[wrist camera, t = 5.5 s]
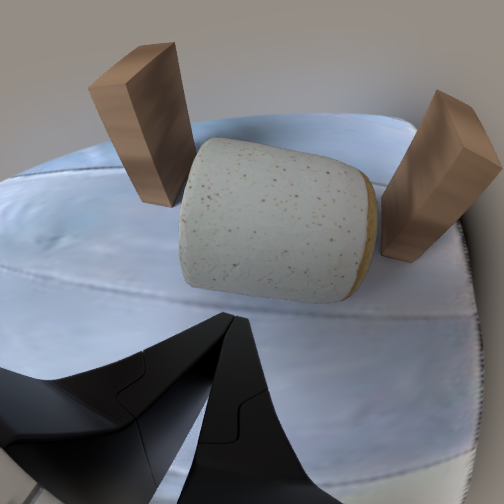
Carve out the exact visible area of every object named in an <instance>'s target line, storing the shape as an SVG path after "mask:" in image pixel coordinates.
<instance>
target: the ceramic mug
mask: <svg viewBox="0 0 504 504" xmlns="http://www.w3.org/2000/svg"><path fill="white" fill-rule="evenodd" d="M377 226H378V210H377V201H376V196H375V192H374V189H373V186H372V184H371V183H370V181H369V179H368V177H367V176H366V175H365V174H364V173H363V172H361V171H360V170H358V169H356V168H354V167H352V166H350V165H347V164H345V163H343V162H340V161H337V160H334V159H331V158H328V157H324V156H319V155H314V154H309V153H303V152H297V151H293V150H288V149H283V148H279V147H274V146H269V145H264V144H258V143H253V142H247V141H241V140H235V139H229V138H219V137H213V138H210V139H208V140H207V141H206V142H205V143H204V144H203V145H202V146H201V148H200V150H199V152H198V154H197V155H196V157H195V159H194V161H193V164H192V167H191V170H190V174H189V177H188V181H187V184H186V187H185V191H184V195H183V200H182V204H181V210H180V219H179V258H180V263H181V269H182V272H183V275H184V279H185V281H186V282H187V283H188V284H189V285H190V286H191V287H195V288H201V289H207V290H214V291H221V292H228V293H235V294H241V295H248V296H255V297H266V298H276V299H283V300H290V301H296V302H303V303H314V304H318V303H334V302H339V301H343V300H345V299H346V298H348V297H349V296H351V295H352V294H353V293H354V292H355V291H356V290H357V288H358V287H359V286H360V284H361V283H362V281H363V280H364V277H365V275H366V273H367V271H368V268H369V266H370V263H371V260H372V257H373V252H374V247H375V243H376V236H377Z"/></svg>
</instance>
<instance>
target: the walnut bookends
mask: <svg viewBox="0 0 504 504" xmlns="http://www.w3.org/2000/svg"><path fill="white" fill-rule="evenodd" d="M88 90H89V92H90V95H91V97H92V99H93V101H94V104H95V106H96V108H97V111H98V113H99V115H100V117H101V120H102V122H103V124H104V126H105V129H106V131H107V133H108V135H109V137H110V139H111V141H112V143H113V146H114V148H115V150H116V152H117V154H118V156H119V158H120V160H121V162H122V164H123V166H124V168H125V170H126V172H127V174H128V176H129V178H130V180H131V182H132V183H133V185H134V187H135V189H136V191H137V193H138V195H139V197H140V199H141V200H142V202H146V203H151V204H156V205H161V206H166V207H172V206H173V204H174V202H175V200H176V198H177V196H178V194H179V192H180V190H181V188H182V186H183V184H184V182H185V180H186V178H187V176H188V174H189V172H190V170H191V167H192V164H193V161H194V159H195V157H196V155H197V153H196V148H195V144H194V139H193V134H192V129H191V125H190V120H189V115H188V110H187V105H186V100H185V95H184V90H183V85H182V80H181V74H180V69H179V63H178V57H177V52H176V46H175V42H172V43H160V44H152V45H143V46H139V47H137V48H136V49H135V50H133V51H132V52H130V53H129V54H128V55H127V56H125V57H124V58H123V59H121V60H120V61H119V62H118V63H116V64H115V65H114V66H113V67H111V68H110V69H109V70H108V71H107V72H106V73H104V74H103V75H102V76H101V77H100V78H99V79H97V80H96V81H95V82H94V83H93V84H92V85H91V86H90V87H89V88H88ZM501 170H502V166H501V164H500V161H499V159H498V157H497V154H496V152H495V150H494V148H493V146H492V144H491V142H490V140H489V138H488V136H487V134H486V132H485V130H484V128H483V126H482V124H481V122H480V121H479V119H478V117H477V115H476V113H475V112H474V110H473V109H472V107H470V106H469V105H467V104H465V103H463V102H461V101H459V100H458V99H455V98H454V97H452V96H449V95H447V94H446V93H443V92H441V91H439V90H436V92H435V94H434V97H433V99H432V101H431V103H430V105H429V108H428V110H427V112H426V114H425V116H424V118H423V120H422V122H421V125H420V126H419V128H418V130H417V132H416V134H415V136H414V138H413V140H412V142H411V144H410V146H409V148H408V150H407V152H406V154H405V156H404V157H403V159H402V161H401V163H400V165H399V167H398V168H397V170H396V172H395V174H394V176H393V177H392V179H391V181H390V183H389V185H388V186H387V188H386V190H385V191H384V193H383V195H382V197H381V200H382V237H381V255H383V256H387V257H391V258H395V259H398V260H402V261H406V262H410V263H413V262H414V261H415V260H416V259H417V258H418V257H419V256H420V255H422V254H423V253H424V252H425V251H426V250H427V249H428V248H429V247H430V246H431V245H432V244H433V243H434V242H435V241H437V240H438V239H439V238H440V237H441V236H442V235H443V234H444V233H445V232H446V231H447V230H448V229H449V228H450V227H451V226H452V225H453V224H454V223H455V222H456V221H457V220H458V219H459V218H460V216H461V215H462V214H463V213H464V212H465V211H466V210H467V209H468V208H469V207H470V206H471V205H472V204H473V203H474V201H475V200H476V199H477V198H478V197H479V196H480V195H481V194H482V193H483V191H484V190H485V189H486V188H487V187H488V186H489V184H490V183H491V182H492V181H493V180H494V178H495V177H496V176H497V175H498V174H499V172H500V171H501Z"/></svg>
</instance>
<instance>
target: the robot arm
mask: <svg viewBox="0 0 504 504" xmlns="http://www.w3.org/2000/svg"><path fill="white" fill-rule="evenodd" d="M208 396H209V398H208ZM207 398H208V402H207V406H206V410H205V414H204V418H203V423H202V427H201V431H200V435H199V439H198V444H197V447H196V451H195V455H194V459H193V462H192V465H191V468H190V471H189V473H188V476H187V478H186V481H185V484H184V486H183V489H182V491H181V494H180V496H179V499H178V502H177V504H343V503H341V502H340V501H338V500H337V499H335V498H334V497H332V496H331V495H329V494H328V493H326V492H325V491H323V490H322V489H320V488H319V487H318V486H317V485H315V484H314V483H313V482H312V480H311V479H310V478H309V477H308V475H307V474H306V472H305V471H304V469H303V467H302V465H301V463H300V462H299V460H298V458H297V456H296V454H295V452H294V450H293V448H292V446H291V444H290V442H289V440H288V438H287V436H286V434H285V432H284V430H283V428H282V426H281V424H280V421H279V419H278V417H277V414H276V411H275V409H274V406H273V403H272V400H271V396H270V393H269V391H268V386H267V383H266V379H265V376H264V372H263V369H262V365H261V362H260V358H259V355H258V351H257V348H256V344H255V341H254V337H253V333H252V330H251V326H250V322H249V320H248V319H247V318H243V317H239V316H236V317H235V316H234V315H232V314H228V313H224V312H222V313H219V314H217V315H215V316H213V317H211V318H209V319H207V320H205V321H203V322H201V323H199V324H197V325H195V326H193V327H191V328H189V329H187V330H185V331H183V332H181V333H179V334H177V335H175V336H172V337H170V338H168V339H166V340H164V341H162V342H160V343H158V344H155V345H153V346H151V347H149V348H147V349H145V350H143V351H140V352H138V353H136V354H134V355H131V356H129V357H127V358H124V359H122V360H119V361H117V362H114V363H111V364H108V365H105V366H102V367H99V368H96V369H93V370H89V371H86V372H83V373H79V374H76V375H72V376H69V377H65V378H61V379H56V380H40V379H35V378H32V377H28V376H25V375H22V374H19V373H16V372H13V371H10V370H7V369H4V368H1V367H0V504H149V502H150V500H151V499H152V497H153V495H154V494H155V492H156V490H157V489H156V488H158V487H159V485H160V483H161V481H162V480H163V478H164V476H165V474H166V473H167V471H168V469H169V467H170V466H171V464H172V462H173V460H174V459H175V457H176V455H177V453H178V451H179V450H180V448H181V446H182V444H183V442H184V441H185V439H186V437H187V435H188V433H189V432H190V430H191V428H192V426H193V424H194V422H195V421H196V419H197V417H198V415H199V413H200V411H201V409H202V408H203V406H204V404H205V402H206V400H207Z"/></svg>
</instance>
